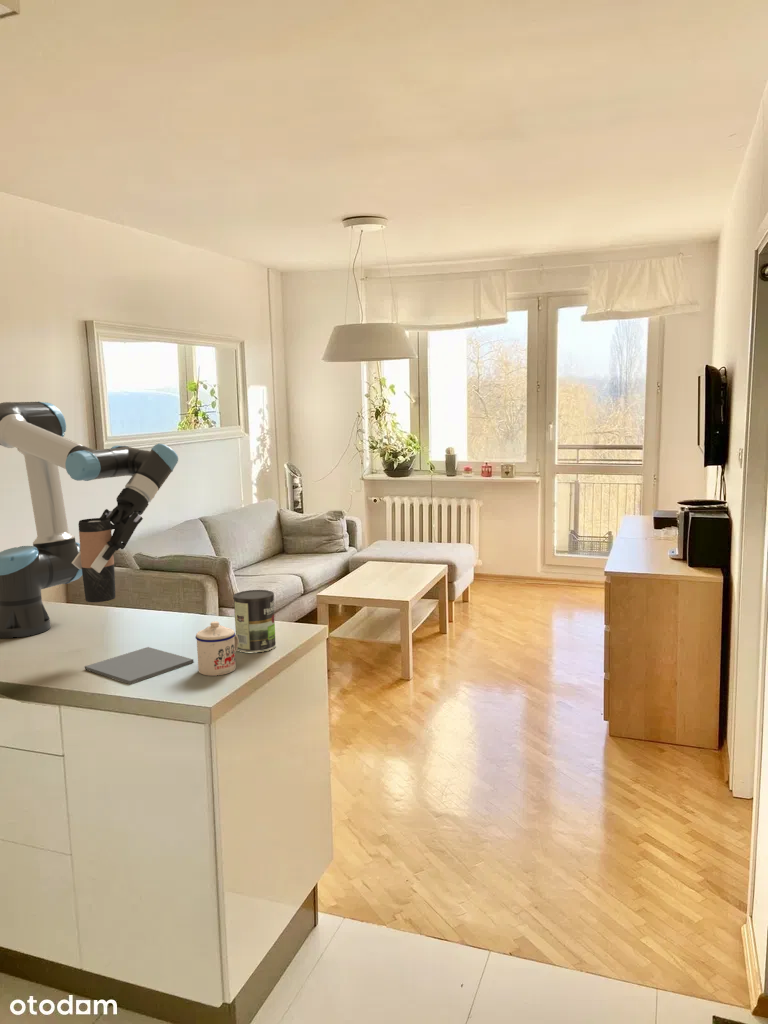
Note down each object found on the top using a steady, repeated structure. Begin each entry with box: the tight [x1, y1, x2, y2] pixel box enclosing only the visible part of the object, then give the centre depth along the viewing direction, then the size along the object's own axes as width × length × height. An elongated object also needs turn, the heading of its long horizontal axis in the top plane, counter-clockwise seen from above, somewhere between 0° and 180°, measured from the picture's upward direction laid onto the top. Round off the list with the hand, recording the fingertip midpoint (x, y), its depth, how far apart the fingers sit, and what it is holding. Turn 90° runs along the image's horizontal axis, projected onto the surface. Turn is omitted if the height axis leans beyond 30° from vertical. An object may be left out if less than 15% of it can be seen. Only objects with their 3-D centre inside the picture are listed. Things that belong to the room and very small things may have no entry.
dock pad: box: [84, 646, 194, 685], centre depth 188 cm, size 18×18×1 cm
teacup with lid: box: [195, 620, 239, 677], centre depth 184 cm, size 12×9×12 cm
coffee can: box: [232, 589, 277, 653], centre depth 199 cm, size 10×10×14 cm
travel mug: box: [78, 517, 116, 603], centre depth 193 cm, size 8×8×20 cm
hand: (85, 567), depth 191 cm, fingers closed on travel mug, 7 cm apart
